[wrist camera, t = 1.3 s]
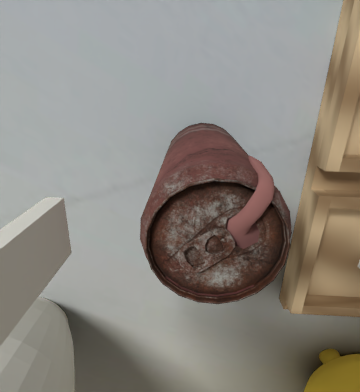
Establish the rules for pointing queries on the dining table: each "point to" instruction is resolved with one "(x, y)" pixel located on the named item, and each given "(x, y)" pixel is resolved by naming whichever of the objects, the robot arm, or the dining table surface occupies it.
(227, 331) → the dining table surface
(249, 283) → the can
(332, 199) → the tray
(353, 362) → the teapot
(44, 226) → the robot arm
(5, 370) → the vase
